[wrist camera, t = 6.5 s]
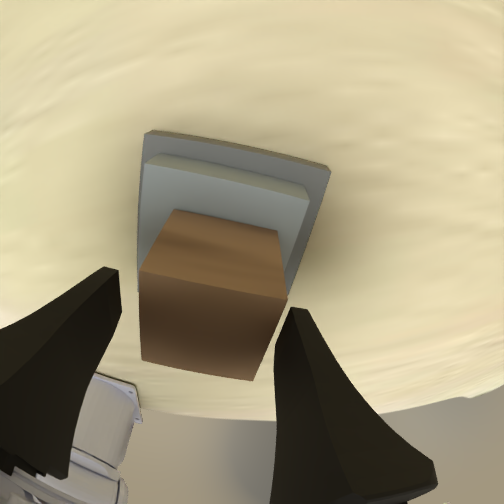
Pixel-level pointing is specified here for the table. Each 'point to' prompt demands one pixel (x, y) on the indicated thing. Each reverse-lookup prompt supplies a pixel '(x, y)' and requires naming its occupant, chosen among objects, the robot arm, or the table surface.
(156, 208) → the slate top slab
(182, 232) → the walnut cube
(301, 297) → the table surface
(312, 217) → the gray square platform
